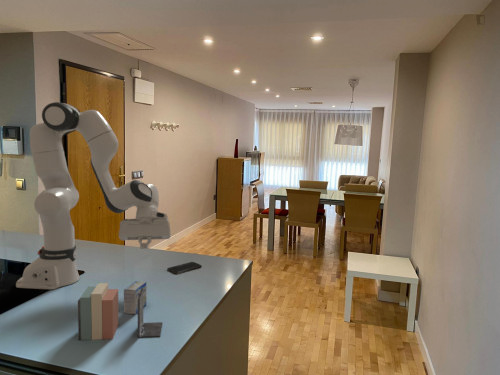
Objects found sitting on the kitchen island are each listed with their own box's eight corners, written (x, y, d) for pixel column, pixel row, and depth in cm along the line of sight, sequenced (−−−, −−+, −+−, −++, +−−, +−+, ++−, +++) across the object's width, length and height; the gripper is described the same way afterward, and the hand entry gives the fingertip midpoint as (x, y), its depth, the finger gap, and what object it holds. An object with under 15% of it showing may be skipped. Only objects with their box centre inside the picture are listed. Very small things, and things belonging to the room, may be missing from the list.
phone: (202, 265, 169) (175, 272, 158) (202, 268, 169) (175, 275, 158) (192, 261, 174) (166, 268, 164) (192, 263, 175) (166, 270, 164)
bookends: (78, 340, 104) (77, 301, 103) (86, 326, 112) (86, 289, 110) (160, 336, 108) (160, 298, 106) (162, 323, 116) (162, 287, 114)
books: (80, 340, 104) (80, 294, 102) (88, 326, 112) (88, 283, 110) (112, 338, 106) (112, 293, 104) (118, 325, 113) (118, 282, 112)
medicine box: (135, 315, 120) (135, 290, 119) (123, 313, 121) (123, 288, 120) (146, 305, 128) (146, 281, 127) (135, 303, 129) (135, 280, 128)
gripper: (119, 214, 145) (115, 245, 137) (170, 214, 148) (169, 243, 140) (121, 223, 150) (117, 252, 142) (171, 222, 153) (170, 251, 145)
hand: (143, 248), depth 141 cm, fingers closed
